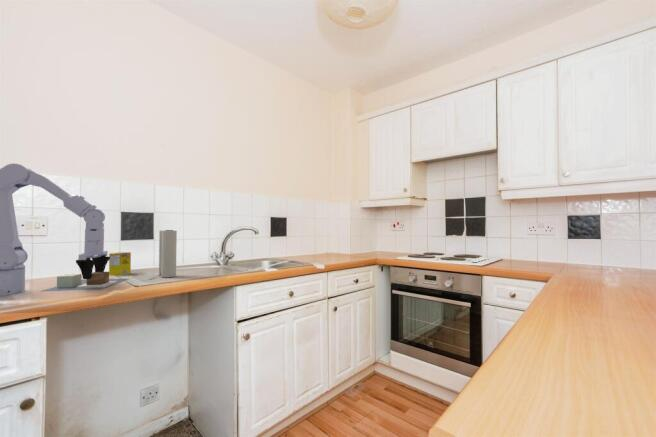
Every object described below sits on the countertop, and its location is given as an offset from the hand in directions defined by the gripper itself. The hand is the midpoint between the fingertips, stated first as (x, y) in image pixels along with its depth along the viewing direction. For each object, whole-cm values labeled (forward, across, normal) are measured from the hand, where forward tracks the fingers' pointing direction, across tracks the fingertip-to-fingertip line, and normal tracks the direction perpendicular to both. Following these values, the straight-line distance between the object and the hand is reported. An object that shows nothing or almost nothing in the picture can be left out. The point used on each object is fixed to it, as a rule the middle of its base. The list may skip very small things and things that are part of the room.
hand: (93, 277), depth 112 cm
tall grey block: (+4, +22, -19) cm, 29 cm away
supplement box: (+4, +26, +3) cm, 27 cm away
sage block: (+3, 0, +8) cm, 9 cm away
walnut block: (+2, 0, -2) cm, 3 cm away
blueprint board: (+4, +3, +2) cm, 5 cm away
